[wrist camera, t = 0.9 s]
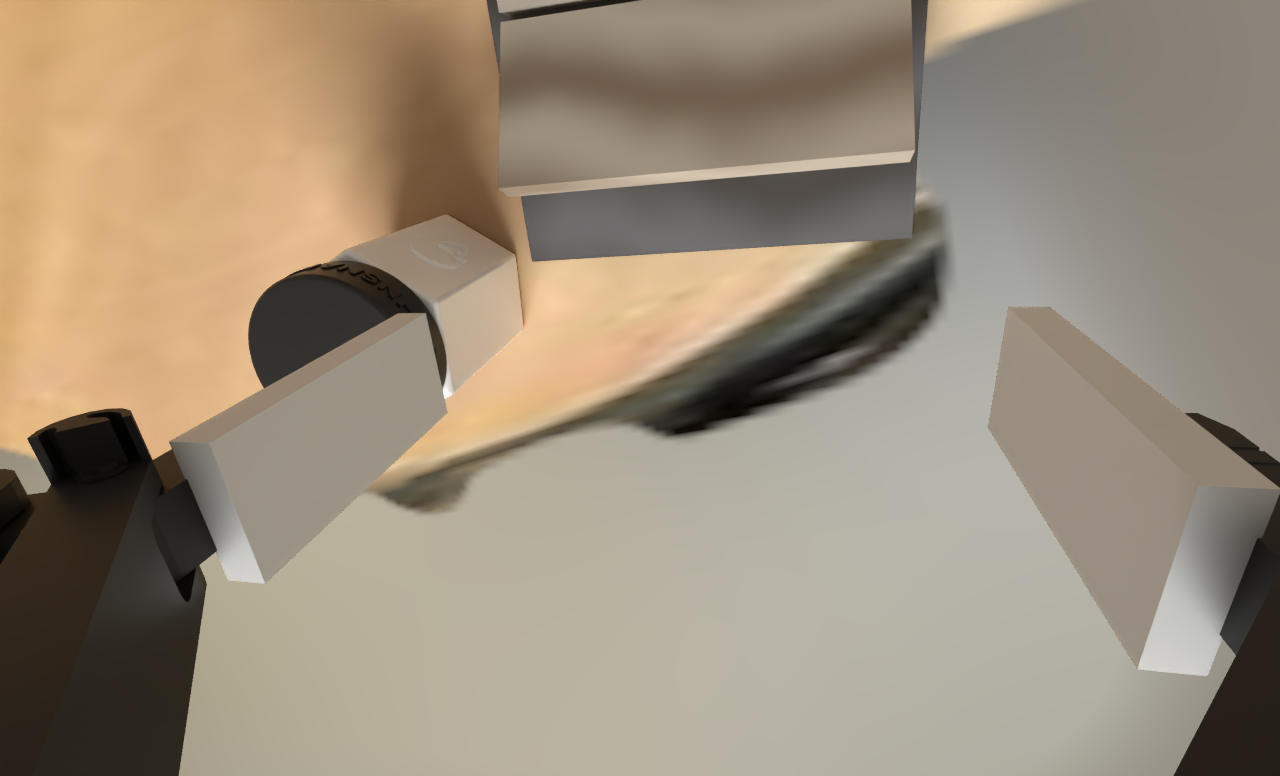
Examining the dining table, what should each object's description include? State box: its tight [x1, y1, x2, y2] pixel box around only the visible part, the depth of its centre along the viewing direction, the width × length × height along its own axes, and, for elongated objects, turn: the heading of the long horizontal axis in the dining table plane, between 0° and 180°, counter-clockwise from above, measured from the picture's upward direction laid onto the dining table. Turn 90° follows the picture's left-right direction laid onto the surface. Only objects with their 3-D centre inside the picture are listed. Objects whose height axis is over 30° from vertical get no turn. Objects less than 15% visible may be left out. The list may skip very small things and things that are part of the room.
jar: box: [248, 214, 524, 399], centre depth 32 cm, size 9×8×12 cm
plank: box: [498, 0, 915, 197], centre depth 28 cm, size 8×18×1 cm, turn 96°
